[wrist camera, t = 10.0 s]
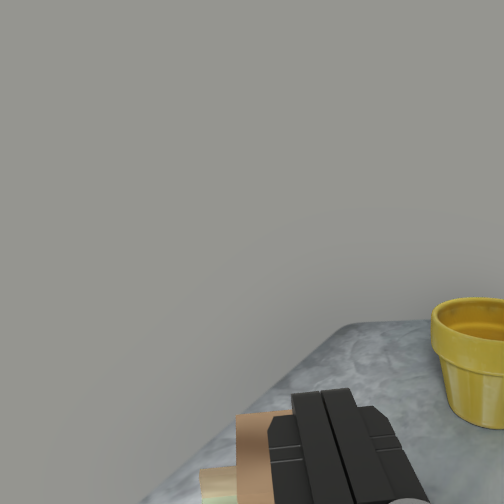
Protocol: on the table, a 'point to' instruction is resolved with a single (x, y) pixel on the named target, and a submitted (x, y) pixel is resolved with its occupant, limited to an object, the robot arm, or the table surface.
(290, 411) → the walnut block
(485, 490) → the table surface
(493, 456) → the table surface
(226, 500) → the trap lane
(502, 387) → the plant pot
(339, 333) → the table surface
